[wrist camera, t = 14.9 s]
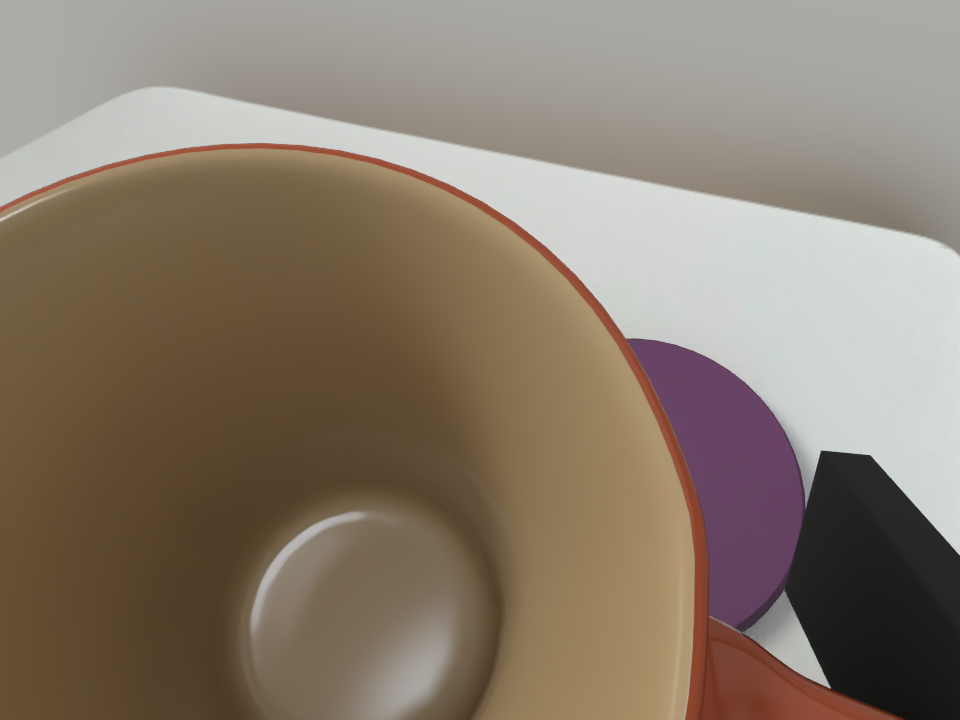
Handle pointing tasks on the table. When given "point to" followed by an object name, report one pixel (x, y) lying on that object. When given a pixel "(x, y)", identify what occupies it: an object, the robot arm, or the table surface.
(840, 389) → the table surface
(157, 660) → the mug
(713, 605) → the plum lid
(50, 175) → the table surface
